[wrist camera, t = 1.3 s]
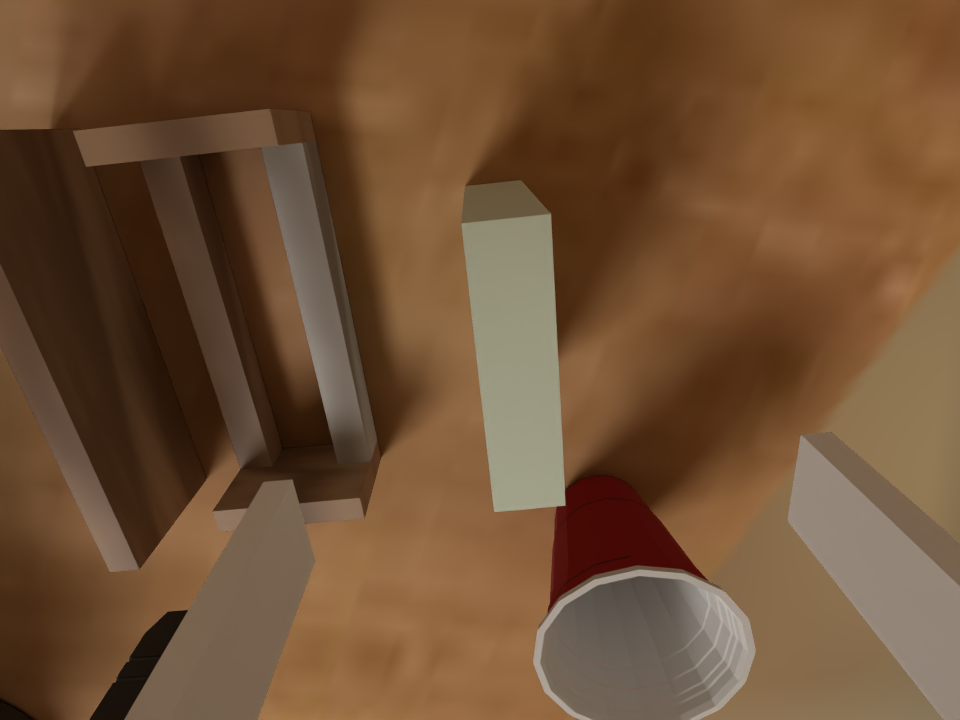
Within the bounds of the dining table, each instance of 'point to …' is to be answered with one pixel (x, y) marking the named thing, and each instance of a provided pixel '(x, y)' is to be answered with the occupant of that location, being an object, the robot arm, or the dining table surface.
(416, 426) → the dining table surface
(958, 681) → the robot arm
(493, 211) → the door panel
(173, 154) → the track
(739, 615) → the plastic cup
